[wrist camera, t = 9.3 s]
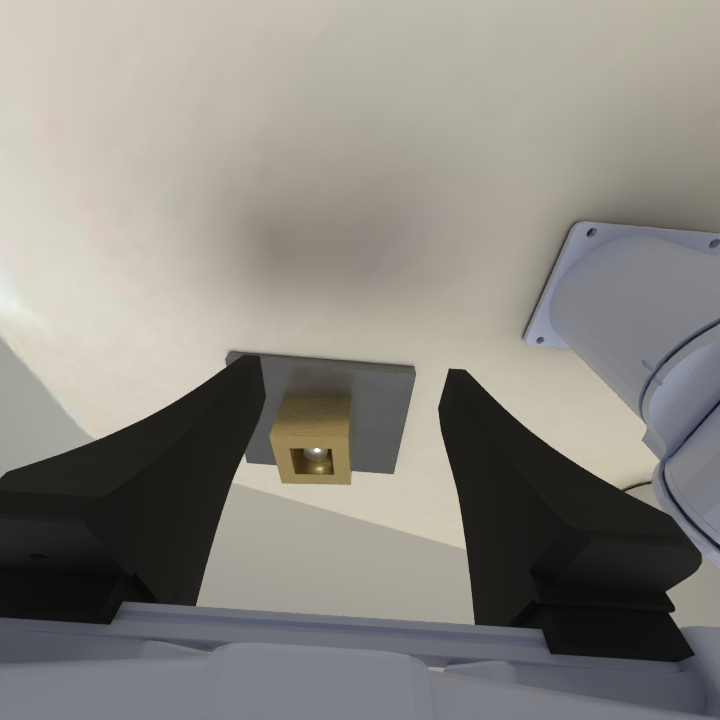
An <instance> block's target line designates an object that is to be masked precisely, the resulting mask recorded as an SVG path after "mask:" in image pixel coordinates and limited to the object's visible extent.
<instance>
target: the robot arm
mask: <svg viewBox="0 0 720 720" xmlns="http://www.w3.org/2000/svg"><path fill="white" fill-rule="evenodd" d="M591 228H593V231H592V233H591V234H590V235H588V236H587V232H588V230H589V229H591ZM713 240H714V241H713ZM712 241H713V243H712V244H711V245H710V243H711V242H712ZM539 337H542V338H541V339H540V340H537V339H538V338H539ZM536 340H537V341H536ZM524 342H525V343H526V344H527V345H530V346H542V347H554V348H566V349H572V350H573V351H574V352H575V353H576V354H577V355H578V356H579V357H580V358H581V359H582V360H583V361H584V362H585V363H586V364H587V365H588V366H589V367H590V368H591V369H592V370H593V371H594V372H595V373H596V374H597V375H598V376H599V377H600V378H601V379H602V380H603V381H604V382H605V383H606V384H607V385H608V386H609V387H610V388H611V389H612V390H613V391H614V392H615V393H616V394H617V395H618V396H619V397H620V398H621V399H622V400H623V401H624V402H625V403H626V404H627V406H628V407H629V408H630V409H631V410H632V411H633V412H634V413H635V414H636V415H637V416H638V417H639V418H640V419H641V420H642V421H643V422H644V423H645V424H646V426H647V430H646V433H645V435H644V437H643V438H642V441H643V442H644V443H645V444H646V446H647V447H648V448H649V449H650V450H651V451H652V452H653V453H654V454H655V455H656V456H657V458H658V459H659V460H660V462H659V463H658V464H657V466H656V467H655V469H654V471H653V474H652V487H653V492H654V494H655V496H656V499H657V501H658V503H659V505H660V507H661V508H662V510H663V511H664V512H663V511H661V510H659V509H657V508H655V507H653V506H651V505H649V504H647V503H645V502H643V501H641V500H639V499H637V498H635V497H633V496H631V495H629V494H627V493H625V492H623V491H622V490H620V489H618V488H616V487H615V486H613V485H611V484H609V483H607V482H606V481H604V480H602V479H600V478H599V477H597V476H595V475H594V474H592V473H590V472H589V471H587V470H585V469H584V468H582V467H581V466H579V465H577V464H576V463H574V462H573V461H571V460H570V459H568V458H567V457H565V456H564V455H562V454H561V453H559V452H558V451H556V450H555V449H554V448H552V447H551V446H549V445H548V444H547V443H545V442H544V441H543V440H541V439H540V438H539V437H537V436H536V435H535V434H533V433H532V432H531V431H530V430H528V429H527V428H526V427H525V426H524V425H522V424H521V423H520V422H519V421H518V420H517V419H516V418H514V417H513V416H512V415H511V414H510V413H509V412H508V411H507V410H505V409H504V408H503V407H502V406H501V405H500V404H499V403H498V402H497V401H496V400H495V399H494V398H493V397H492V396H491V395H490V394H489V393H488V392H487V391H486V390H485V389H484V388H483V387H482V386H481V385H480V384H479V383H478V382H477V381H476V380H475V379H474V378H473V377H472V376H471V375H470V374H469V373H468V372H467V371H466V370H463V369H449V371H448V374H447V378H446V382H445V385H444V389H443V392H442V396H441V400H440V403H439V407H438V411H439V419H440V426H441V432H442V436H443V440H444V444H445V448H446V451H447V455H448V459H449V462H450V466H451V469H452V473H453V477H454V480H455V484H456V488H457V493H458V497H459V503H460V509H461V515H462V521H463V528H464V535H465V542H466V549H467V556H468V563H469V572H470V581H471V590H472V599H473V610H474V619H475V625H468V624H453V623H437V622H423V621H408V620H407V621H406V620H393V619H377V618H363V617H348V616H333V615H332V616H331V615H318V614H302V613H287V612H272V611H256V610H242V609H227V608H212V607H197V606H196V603H197V599H198V595H199V591H200V587H201V583H202V580H203V575H204V572H205V567H206V564H207V561H208V557H209V554H210V550H211V546H212V543H213V540H214V536H215V533H216V530H217V526H218V523H219V520H220V517H221V513H222V510H223V507H224V504H225V501H226V498H227V495H228V492H229V489H230V486H231V483H232V480H233V478H234V475H235V473H236V470H237V468H238V466H239V464H240V461H241V459H242V457H243V455H244V453H245V450H246V448H247V446H248V444H249V442H250V440H251V437H252V435H253V433H254V431H255V428H256V426H257V424H258V422H259V419H260V416H261V413H262V410H263V406H264V403H265V399H266V392H265V386H264V379H263V373H262V366H261V360H260V356H256V355H243V356H241V357H240V358H238V359H237V360H235V361H234V362H233V363H231V364H230V365H228V366H227V367H226V368H224V369H223V370H222V371H220V372H219V373H217V374H216V375H215V376H213V377H212V378H210V379H209V380H208V381H206V382H205V383H203V384H202V385H200V386H199V387H197V388H196V389H194V390H193V391H191V392H190V393H188V394H187V395H185V396H184V397H182V398H180V399H179V400H177V401H176V402H174V403H172V404H171V405H169V406H167V407H165V408H164V409H162V410H160V411H158V412H156V413H154V414H152V415H151V416H149V417H147V418H145V419H143V420H141V421H139V422H136V423H134V424H132V425H130V426H128V427H126V428H124V429H121V430H119V431H117V432H115V433H113V434H111V435H108V436H106V437H104V438H101V439H99V440H96V441H94V442H91V443H89V444H86V445H84V446H81V447H79V448H76V449H73V450H71V451H68V452H65V453H63V454H60V455H57V456H54V457H51V458H48V459H45V460H42V461H39V462H36V463H33V464H30V465H27V466H24V467H21V468H18V469H15V470H11V471H8V472H7V473H5V474H4V476H2V477H1V478H0V720H720V627H705V626H688V627H682V628H678V627H677V625H676V623H675V622H674V620H673V619H672V617H671V616H670V614H669V613H673V612H674V611H675V606H674V604H673V603H672V601H671V600H670V598H669V597H668V595H667V594H666V591H668V590H669V589H671V588H672V587H674V586H676V585H677V584H679V583H680V582H682V581H684V580H685V579H687V578H688V577H690V576H691V575H692V574H694V573H695V572H696V571H697V570H698V569H699V567H700V565H701V564H702V554H703V555H704V556H705V557H706V558H708V559H709V560H710V561H711V562H713V563H714V564H715V565H717V566H718V567H719V568H720V233H710V232H699V231H688V230H677V229H666V228H655V227H644V226H633V225H622V224H611V223H599V222H588V221H580V222H578V223H576V224H575V225H574V226H573V227H572V229H571V230H570V233H569V235H568V237H567V240H566V242H565V244H564V246H563V249H562V251H561V253H560V255H559V258H558V260H557V262H556V265H555V267H554V269H553V271H552V274H551V276H550V278H549V281H548V283H547V285H546V287H545V290H544V292H543V294H542V297H541V299H540V301H539V303H538V306H537V308H536V310H535V312H534V315H533V317H532V319H531V322H530V324H529V326H528V328H527V331H526V333H525V335H524ZM209 652H211V653H210V654H209ZM428 667H442V668H445V669H444V672H441V671H435V670H430V669H428Z"/></svg>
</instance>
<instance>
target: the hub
mask: <svg viewBox="0 0 720 720" xmlns="http://www.w3.org/2000/svg"><path fill="white" fill-rule="evenodd" d="M269 437H270V441H271V444H272V448H273V452H274V456H275V459H276V463H277V467H278V470H279V474H280V478H281V481H282V483H291V484H342V485H351V474H352V459H353V423H352V401H351V398H310V397H283V399H282V402H281V405H280V408H279V410H278V413H277V416H276V419H275V422H274V424H273V427H272V430H271V433H270V436H269ZM304 448H314V449H328V452H327V457H326V458H325V459H323V460H321V461H312V460H309V459H308V458H306V457H305V456H304V453H303V452H304Z"/></svg>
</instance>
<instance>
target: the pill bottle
mask: <svg viewBox="0 0 720 720" xmlns="http://www.w3.org/2000/svg"><path fill="white" fill-rule="evenodd" d="M625 493H627V494H629V495H631V496H633V497H635V498H637V499H639V500H641V501H643V502H645V503H647V504H649V505H651V506H653V507H655V508H657V509H659V510H661V511H663V510H662V508H661V507H660V505H659V503H658V501H657V499H656V496H655V494H654V492H653V487H652V484H647V485H643V486H639V487H636V488H633V489H630V490H628V491H625ZM663 512H664V511H663ZM666 594H667V595H668V597H669V598H670V600H671V601H672V603H673V604H674V606H675V611H674V612H673V613H669V614H670V616H671V617H672V619H673V620H674V622H675V623H676V625H677V627H678V628H682V627H688V626H705V627H720V568H719V567H718V566H717V565H715V564H714V563H713V562H711V561H710V560H709V559H708V558H706V557H705V556H704V555H703V554H702V564H701V565H700V567H699V569H698V570H697V571H696V572H695V573H694V574H692V575H691V576H690V577H688V578H687V579H685V580H684V581H682V582H680V583H679V584H677V585H676V586H674V587H672V588H671V589H669V590H668V591H666Z"/></svg>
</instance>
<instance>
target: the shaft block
mask: <svg viewBox="0 0 720 720" xmlns="http://www.w3.org/2000/svg"><path fill="white" fill-rule="evenodd" d="M243 355H256V356H260V360H261V366H262V373H263V379H264V386H265V392H266V399H265V403H264V406H263V410H262V413H261V416H260V419H259V422H258V424H257V426H256V428H255V431H254V433H253V435H252V437H251V440H250V442H249V444H248V446H247V448H246V450H245V456H246V461H247V463H255V464H268V465H277V463H276V459H275V456H274V452H273V448H272V444H271V441H270V437H269V436H270V433H271V430H272V427H273V424H274V422H275V419H276V416H277V413H278V410H279V408H280V405H281V402H282V399H283V397H310V398H351V401H352V423H353V459H352V471H360V472H373V473H386V474H394V470H395V465H396V461H397V457H398V452H399V448H400V443H401V439H402V435H403V430H404V426H405V421H406V417H407V412H408V408H409V404H410V399H411V395H412V390H413V386H414V382H415V377H416V372H415V367H411V366H398V365H386V364H374V363H362V362H350V361H338V360H325V359H313V358H301V357H289V356H277V355H264V354H252V353H240V352H230V353H229V354H228V356H227V357H226V359H225V361H226V366H228V365H230V364H231V363H233V362H234V361H235V360H237V359H238V358H240V357H241V356H243ZM327 452H328V449H314V448H304V452H303V453H304V456H305V457H306V458H308V459H309V460H312V461H321V460H323V459H325V458H326V457H327Z"/></svg>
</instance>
